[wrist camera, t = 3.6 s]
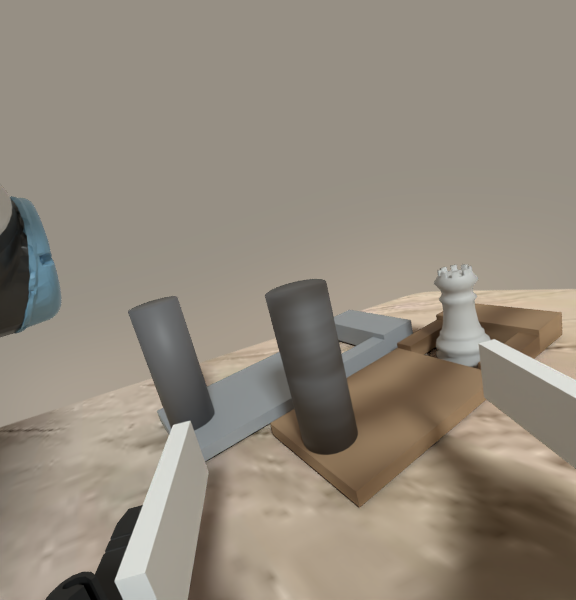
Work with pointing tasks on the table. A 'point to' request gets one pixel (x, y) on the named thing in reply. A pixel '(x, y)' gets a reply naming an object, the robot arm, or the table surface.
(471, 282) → the rook chess piece
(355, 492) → the brown board with post
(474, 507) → the table surface
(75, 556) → the table surface
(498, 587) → the table surface
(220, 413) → the grey board with post
